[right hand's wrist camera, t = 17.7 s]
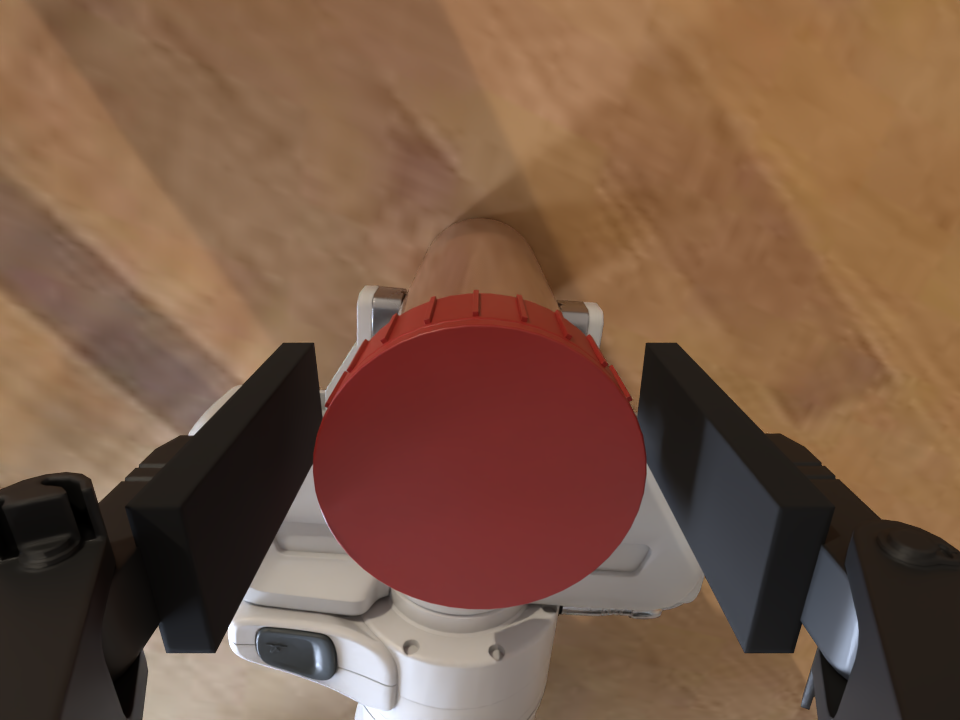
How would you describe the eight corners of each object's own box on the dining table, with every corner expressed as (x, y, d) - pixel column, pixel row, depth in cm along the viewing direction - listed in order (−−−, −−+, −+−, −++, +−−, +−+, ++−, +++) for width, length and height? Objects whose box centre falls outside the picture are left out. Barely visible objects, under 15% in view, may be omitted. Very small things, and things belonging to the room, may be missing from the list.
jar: (493, 192, 24) (512, 272, 10) (561, 289, 26) (666, 485, 11) (397, 265, 25) (285, 435, 11) (468, 353, 27) (454, 606, 12)
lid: (278, 438, 12) (240, 494, 10) (466, 221, 11) (462, 240, 9) (489, 585, 14) (491, 658, 12) (683, 417, 12) (722, 470, 10)
